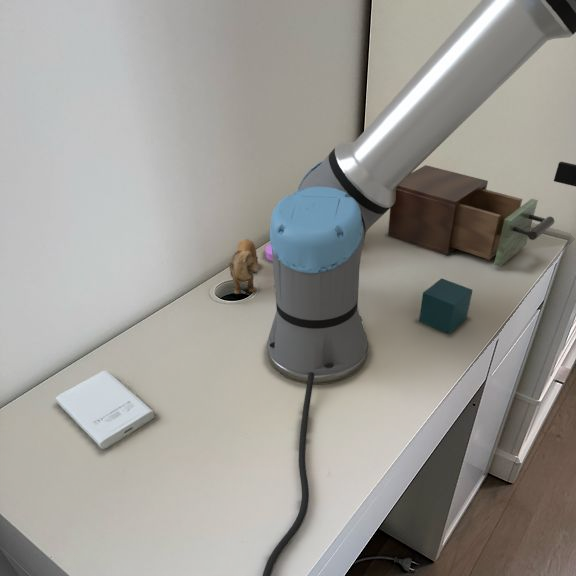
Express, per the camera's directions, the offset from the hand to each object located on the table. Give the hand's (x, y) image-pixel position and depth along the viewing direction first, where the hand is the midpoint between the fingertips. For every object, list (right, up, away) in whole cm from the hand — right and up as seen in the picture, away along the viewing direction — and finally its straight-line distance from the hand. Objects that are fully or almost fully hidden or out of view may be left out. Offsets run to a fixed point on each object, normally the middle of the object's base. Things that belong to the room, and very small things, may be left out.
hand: (575, 157), depth 84 cm
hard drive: (-70, -39, -8) cm, 81 cm away
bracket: (-43, -11, +20) cm, 49 cm away
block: (-20, -25, +3) cm, 32 cm away
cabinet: (-15, -5, +25) cm, 30 cm away
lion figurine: (-52, -17, +15) cm, 57 cm away
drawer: (-6, -10, +18) cm, 21 cm away
